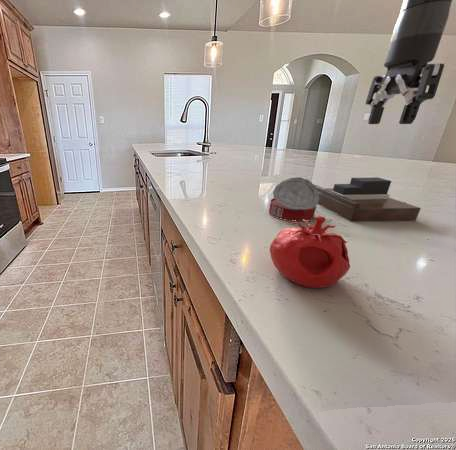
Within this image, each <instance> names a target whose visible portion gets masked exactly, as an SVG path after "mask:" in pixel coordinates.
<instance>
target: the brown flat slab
mask: <svg viewBox="0 0 456 450" xmlns="http://www.w3.org/2000/svg"><path fill="white" fill-rule="evenodd" d="M314 186H315V188H316V189H317V191H318V194H319V201H318V204H317V205H319V204H320V205H319V206H321V205H322V206H321V207H323V208H325V209H326V210H328V211H330V210H331V211H330V212H332V211H333V212H332V213H334V212H335V213H334V214H336V213H337V214H336V215H338V216H340V217H342V218H344V219H345V218H346V220H347V219H348V220H347V221H349V220H350V221H349V222H416V221H417V218H418V216H419V214H420V211H421V209H422V208H421V207H419V206H416V205H413V204H410V203H407V202H404V201H401V200H398V199H395V198H392V197H389V198H388V199H370V200H351V199H348V198H346V197H343V196H341V195H339V194H336V193H334V192H331V191H333V188H334V187H333V188H332V187H331V188H329V187H328V188H324V187H322V186H319V185H317V184H314Z"/></svg>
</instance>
